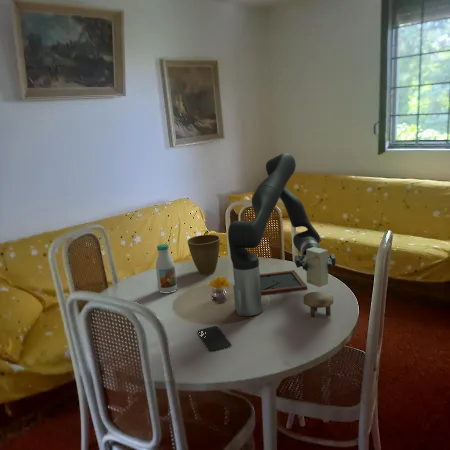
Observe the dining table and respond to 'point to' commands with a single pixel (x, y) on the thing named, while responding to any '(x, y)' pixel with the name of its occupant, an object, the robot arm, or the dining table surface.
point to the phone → (214, 338)
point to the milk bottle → (165, 270)
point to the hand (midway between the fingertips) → (318, 267)
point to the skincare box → (317, 266)
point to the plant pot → (205, 252)
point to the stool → (318, 301)
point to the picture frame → (281, 282)
